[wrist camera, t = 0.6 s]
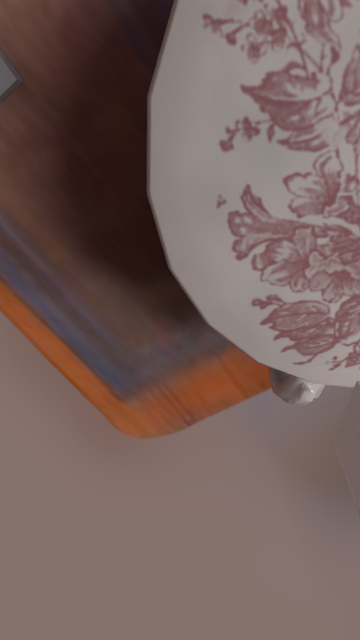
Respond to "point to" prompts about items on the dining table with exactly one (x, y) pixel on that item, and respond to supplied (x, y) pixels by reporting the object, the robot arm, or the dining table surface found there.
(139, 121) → the dining table surface
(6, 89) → the pin tray
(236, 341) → the chamber pot
